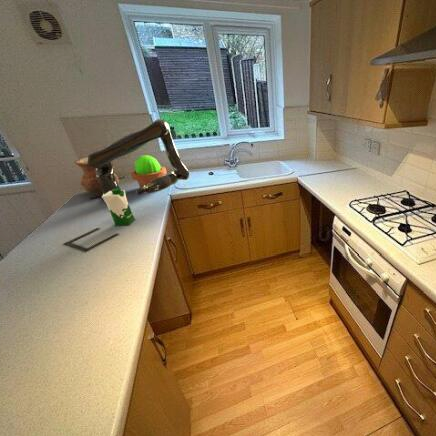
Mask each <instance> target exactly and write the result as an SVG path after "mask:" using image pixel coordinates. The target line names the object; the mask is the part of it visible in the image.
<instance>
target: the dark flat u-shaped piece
mask: <svg viewBox="0 0 436 436" xmlns="http://www.w3.org/2000/svg"><path fill="white" fill-rule="evenodd" d="M98 230H99V228H98V227H96V228H94V229H92V230H90V231H88V232H85V233H84V234H82V235H80V236H77V237H75V238H73V239H70V240H69V241H67V242H64V243H63V244H64V245H66V246H68V247H71V248H74V249H77V250H80V251H83V252H88V251H90V250H92V249H94V248H95V247H97V246H99V245H101V244H103V243H105V242H107V241H109V240H110V239H113V238H115V237H117V236H118V235H119V234H118V233H114V234H112V235H110V236H108V237H107V238H104V239H102V240H101V241H99V242H97V243H95V244H93V245H91V246H89V247H87V248H86V247H84V246H81V245H78V244H75V243H73V242H75V241H77V240H79V239H81V238H84V237H85V236H87V235H90V234H92V233H94V232H96V231H98Z"/></svg>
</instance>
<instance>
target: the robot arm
mask: <svg viewBox="0 0 436 436" xmlns="http://www.w3.org/2000/svg"><path fill="white" fill-rule="evenodd" d="M157 139H160V140H161V142H162V144H163V147H164V150H165V151H164V152H165V153H166V157H167V160H168V162H169V164H170V166H171V167H172V168H173V169H175V170H173V171H171V172H169V173H168V174H165V175H164V176H161V177H159V178H156V179H153V180H152V182H151V183H149V184H148V185H146V186H145V185H144V184H143V185H142V186H141V187H140V186H139V189H137V190H136V191H135V193H136V195H139V196H140V195H143V194H146V193H147V194H149V193H155V192H160V191H162V190H165V189H167V188H169V187H171V186H173V185H176V184H177V183H178V181H187V180H189V179H190V171H189V170H188V168H187V166H186V165H185V164H184V163H183V161H182V159H181V157H180V156H181V155H180V154H179V152H178V150H177V148H176V146H175V143H174V141H173V137H172V134H171V130H170V126H169V123H168V122H167V121H166V120H164V119H161V118H158V119H155V120H154V121H153V122H152V123H151V124H149V125H148V126H146V127H145V128H143V129H141V130H138V131H136V132H131V133H129V134H126V135H125V136H123V137H119V139H117V140H115V141H114V142H113V143H111V144H109V145H108V146H107V147H105V148H103V149H100V150H95V151H92V152H90V153H89V154H88V155H87V156H86V157H87V159H86V162H87V164H88V165H89V166H90V167H92V168H96V178H97V180H98V182H99V184H100V187H101V189H102V192H103V195H104V194H106V193H108V192H109V191H112V189H114V188H120V186H119V184H118V183H117V181H116V178H115V176H114V174H115V169H114V170H113V167H112V164H111V161H112V162H113V161H115V160H116V159H119V158H122V157H125V156H128V155H130V154H131V153H133V152H135V151H138V150H140V149H141V148H143V147H144V146H146V145H147V144H148V143H150V142H152V141H155V140H157ZM103 195H102V196H103ZM98 198H102V197H101V196H91V197H89V199H90V200H91V199H98ZM102 200H103V201H104V199H103V198H102Z"/></svg>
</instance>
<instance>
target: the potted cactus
mask: <svg viewBox="0 0 436 436" xmlns="http://www.w3.org/2000/svg"><path fill="white" fill-rule="evenodd" d="M133 168H134V170H133V171H131V172H130V175H131V178H132V180H134V181H137V184H138V186H139V188H140V187H141V186H142V185H143V184H144V185H145V186H146V185H148V184H149V183H151V182H152V180H153V179H156V178H159V177H161V176H165V175H167V169H166V167H165V166H161V164H160V163H159V161H158V160H157V159H156V158H155V157H153V156H151V155H149V154H147V155H140V156H138V158H136V160H135V162H134V167H133Z"/></svg>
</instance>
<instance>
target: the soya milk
mask: <svg viewBox="0 0 436 436" xmlns="http://www.w3.org/2000/svg"><path fill="white" fill-rule="evenodd" d="M100 198H102V200H103V199H104V200H103V201H104V202H105V204H106V206H107V208H108V211H109V213H110V215H111V217H112V220H113V224H114V226H115V227H124V226H130V225H131V224H132V223H133V222H134V221H135V220H136V218H135V216H134V214H133V211H132V209H131V206H130V204H129V202H128V198H127V196H126V190H125V189H121V187H119V188H114V189H112V191H109V192H108V193H106V194H104V195H102V196H101V197H100Z"/></svg>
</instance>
